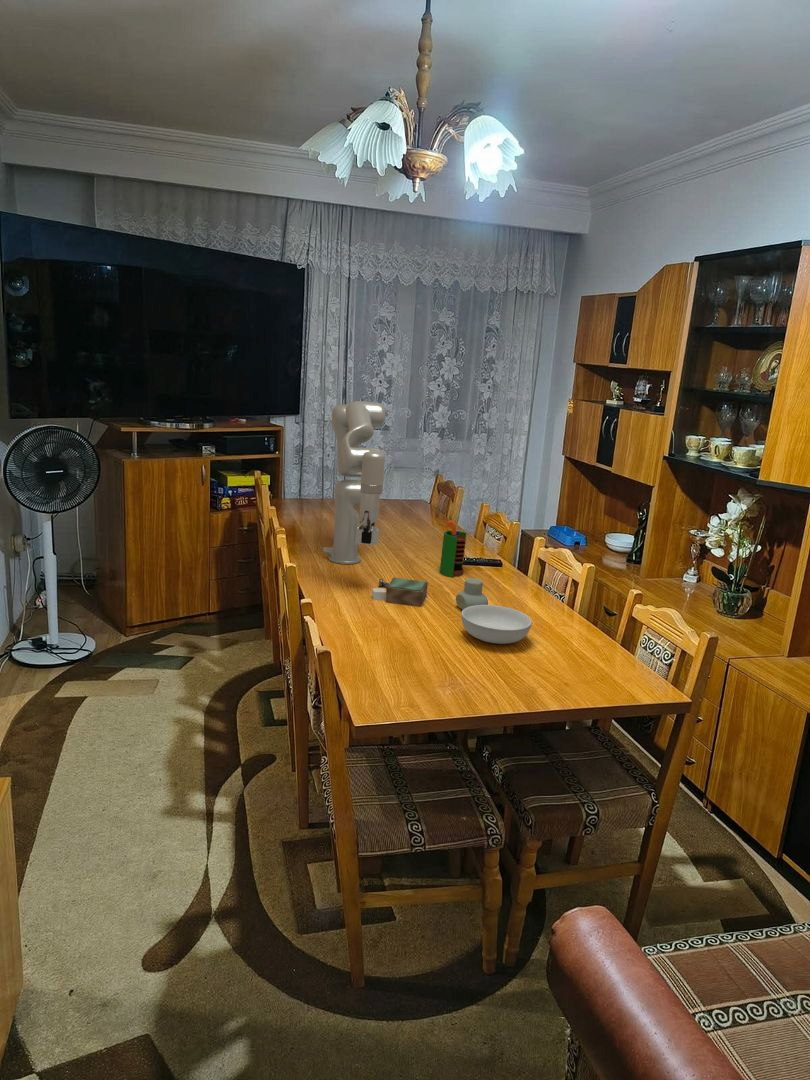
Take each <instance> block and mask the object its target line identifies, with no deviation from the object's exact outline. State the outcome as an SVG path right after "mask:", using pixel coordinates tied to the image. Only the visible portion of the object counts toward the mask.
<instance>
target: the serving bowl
mask: <svg viewBox="0 0 810 1080" xmlns="http://www.w3.org/2000/svg"><path fill="white" fill-rule="evenodd" d="M460 614H461V616H460V617H461V622H462V625H463V627H464V629H465V630H466V632H468V634H470V635H471V636H472V637H473V638H476V639H478V640H480V641H483V642H486V643H491V644H497V645H498V644H500V645H501V644H502V645H506V644H513V643H516V642H519V641H521V640H523V639H524V638H525V637H527V635H528V634H529V632H530V630H531V628H532V624H533V620H532V619H531V617H530V616H528V615H527V614H526V613H524V612H521V611H519V610H516V609H514V608H511V607H506V606H500V605H494V604H488V605H475V606H470V607H467V608H465V609H464V610H461V613H460Z"/></svg>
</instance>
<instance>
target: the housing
mask: <svg viewBox="0 0 810 1080" xmlns="http://www.w3.org/2000/svg"><path fill="white" fill-rule="evenodd" d="M367 526H369V525H367ZM362 527H363V524H361V525H359V527H358V528H357V529H356V538H355V543H358V545H360V544H361V545H367V546H375V547H376V545H378V544H379V541H380V540H379V539H380V527H376V525H375V526H374V525H371V532H372V533H371V543H370V544H366V543H361V538H362Z"/></svg>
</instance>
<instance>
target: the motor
mask: <svg viewBox="0 0 810 1080" xmlns="http://www.w3.org/2000/svg"><path fill="white" fill-rule="evenodd" d="M456 525H457V524H456V523H455V522H454V520H453V521H452V520H448V521H446V528H451V530H445V531H444V532H443V538H442V548H441V557H440V565H439V574H440V575H442V576H445V577H449V578H454V577H462V576H463V575H464V568H463V565H464V559H465V552H466V551H465V550H466V541H467V532H465V531H460V530H457V526H456Z"/></svg>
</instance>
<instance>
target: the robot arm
mask: <svg viewBox="0 0 810 1080" xmlns="http://www.w3.org/2000/svg"><path fill="white" fill-rule="evenodd" d="M385 421H386V410H385V408H384V405H383V404H382V403H381V402H378V401H377V402H375V401H363V400H362V401H361V400H355V401H352V402H350V403H348V404H347V403H346V404H338V405H335V406H334V407H333V408H332V411H331V425H332V429H333V432H334V436H335V438H336V448H337V449H336V452H337V453H336V456H337V458H336V460H337V471H338V473H339V475H340V476H342V477H346V478H347V477H348V478H360V480H358V479H341V480H339V481H337V482H336V483H335V485H334V488H333V494H334V506H335V507H334V528H333V529H334V530H333V546H331V547H328V546H323V547H322V552H323V553H324V554H329V555H328V560H329V561H330V562H332V563H336V564H341V565H352V564H358V563H360V562H362V556H360V555H358V551H359V550H358V549H359V544H358V543H355V538H356V529H357V528H358V527H359V526H360V524H361V523H362V525H363V527H362V538H361V543H366V544H370V543H371V533H372V532H371V525H374V526H375V527H376V521H377V520H378V518H379V513H380V511H379V509H380V497H381V495H383V493H384V492H383V491H384V478H385V462H386V456H385V454H384V452H383V451H382V449H380V448H374V447H373V448H370V447H360V445H362V444H364V443H366V442H368V441H370V440H371V439H372V438H373V436H374V432H375V431H374V430H375V429H376V428H379V427H381V426H382V425H384V423H385ZM355 506H359V512H358V511H357V509H356V508H355ZM367 525H369V526H367ZM366 544H365V545H366Z"/></svg>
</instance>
